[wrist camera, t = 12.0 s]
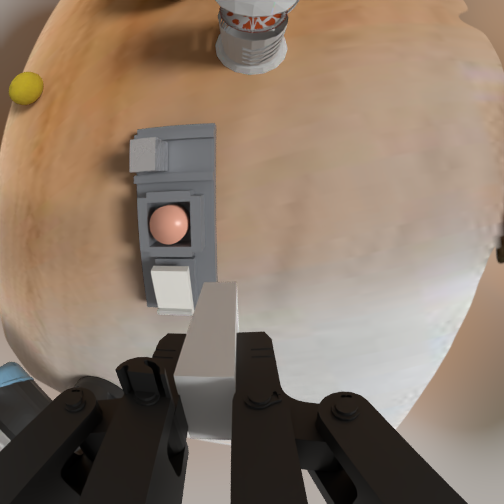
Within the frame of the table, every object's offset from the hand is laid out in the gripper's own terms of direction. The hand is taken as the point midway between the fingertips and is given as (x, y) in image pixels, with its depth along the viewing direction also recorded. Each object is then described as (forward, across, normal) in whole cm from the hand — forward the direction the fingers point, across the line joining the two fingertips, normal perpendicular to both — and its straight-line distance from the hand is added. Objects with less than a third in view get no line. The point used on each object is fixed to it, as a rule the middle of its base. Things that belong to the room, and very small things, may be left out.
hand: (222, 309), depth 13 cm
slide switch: (+21, +9, -9) cm, 25 cm away
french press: (+24, -3, -26) cm, 35 cm away
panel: (+24, +7, -1) cm, 25 cm away
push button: (+21, +7, -1) cm, 23 cm away
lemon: (+24, +33, -25) cm, 48 cm away
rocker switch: (+19, +8, +7) cm, 22 cm away
